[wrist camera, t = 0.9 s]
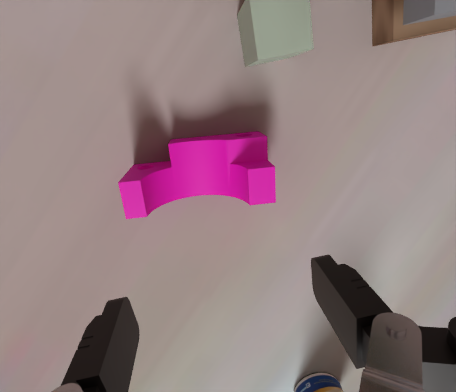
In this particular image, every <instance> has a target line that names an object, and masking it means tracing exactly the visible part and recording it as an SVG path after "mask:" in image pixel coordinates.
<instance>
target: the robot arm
mask: <svg viewBox="0 0 456 392" xmlns="http://www.w3.org/2000/svg"><path fill="white" fill-rule="evenodd" d="M311 269H312V284H313V291H314V294H315V297H316V300H317V302H318V304H319V305H320V307H321V309H322V310H323V312H324V314H325V316H326V317H327V319H328V321H329V322H330V324H331V326H332V328H333V329H334V331H335V333H336V334H337V336H338V338H339V340H340V341H341V343H342V345H343V346H344V348H345V350H346V352H347V353H348V355H349V357H350V359H351V360H352V362H353V364H354V365H355V367H356V369H358V368H363V367H365V369H363V372H362V377H361V383H360V389H359V392H456V317H454V318H452V319H451V320H450V322H449V325H448V328H436V327H422V326H418V325H417V324H416V323H415V322H414V321H412V320H411V319H409V318H408V317H406V316H403V315H401V314H397V313H393V312H392V311H391V309H390V308H389V307H388V306H387V305H386V304H385V303H384V302H383V300H382V299H381V298H380V297H379V296H378V295H377V294H376V293H375V291H374V290H373V289H372V288H371V287H369V285H368V284H367V282H366V281H365V280H363V278H362V277H361V276H360V275H359V273H358V272H357V271H356V270H355V269H353V268H351V267H349V266H348V265H346V264H340V265H338V264H337V263H336V262H335V261H334V260H333V258H332V257H331V256H330V255H324V256H320V257H315V258H312V259H311ZM138 342H139V326H138V323H137V320H136V317H135V315H134V312H133V309H132V307H131V304H130V301H129V299H128V298H127V297H123V298H119V299H114V300H109V301H108V302H107V303H106V305H105V308H104V310H103V313H102V315H99V316H96V317H95V318H94V319H93V320H92V321H91V323H90V324H89V325H88V326H87V327H86V330H85V332H84V334H83V336H82V340H81V341H80V343H79V346H78V350H76V352H75V355H74V357H73V359H72V361H71V364H70V366H69V368H68V370H67V373H66V375H65V377H64V379H63V382H62V384H61V386H60V387H58V388H56V389H55V390H53V391H52V392H128V389H129V384H130V380H131V375H132V370H133V366H134V361H135V356H136V351H137V347H138Z"/></svg>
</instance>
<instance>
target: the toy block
mask: <svg viewBox="0 0 456 392" xmlns="http://www.w3.org/2000/svg"><path fill="white" fill-rule="evenodd" d="M168 147H169V153H170V160H171V161H164V162H154V163H144V164H134V165H133V166H132V167H131V168H130V170H129V171H128V172H127V173H126V174H125V175H124V177H123V178H122V179H121V180H120V181H119V182H118V184H119V188H120V193H121V198H122V202H123V207H124V211H125V216H126V219H130V218H139V217H147V216H148V215H149V214H150V213H151V212H152V211H153V210H154V209H156V208H158V207H159V206H161V205H163V204H166V203H168V202H171V201H174V200H177V199H181V198H186V197H191V196H199V195H225V196H231V197H236V198H239V199H241V200H243V201H245V202H247V203H248V204H249V205H256V204H265V203H274V202H276V198H275V166H274V165H272V164H271V163H270V162H269V161H268V154H267V136H265V135H264V134H262V133H260V132H259V131H257V132H246V133H235V134H224V135H213V136H203V137H192V138H181V139H171V140H170V142H169V144H168Z"/></svg>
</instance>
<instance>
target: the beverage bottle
mask: <svg viewBox="0 0 456 392" xmlns="http://www.w3.org/2000/svg"><path fill="white" fill-rule="evenodd" d="M294 392H343V390H342V387H341V385H340V383H339V381H338V380H337V379H336V378H335V377H334V376H332V375H330V374H327V373H315V374H311V375H309V376H307V377H305V378H303V379H302V380H301V381H300V382H299V383H298V384H297V386H296V388H295V391H294Z"/></svg>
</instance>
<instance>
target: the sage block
mask: <svg viewBox="0 0 456 392" xmlns="http://www.w3.org/2000/svg"><path fill="white" fill-rule="evenodd" d="M237 18H238V25H239V31H240V38H241V44H242V50H243V57H244V63H245V67H248V66H253V65H258V64H263V63H268V62H273V61H277V60H282V59H287V58H291V57H294V56H296V55H299V54H301V53H304V52H307V51H309V50H312V49H314V48H313V36H312V23H311V10H310V0H245V1H244V3H243V5H242V7H241V9H240V11H239V13H238V14H237Z"/></svg>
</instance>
